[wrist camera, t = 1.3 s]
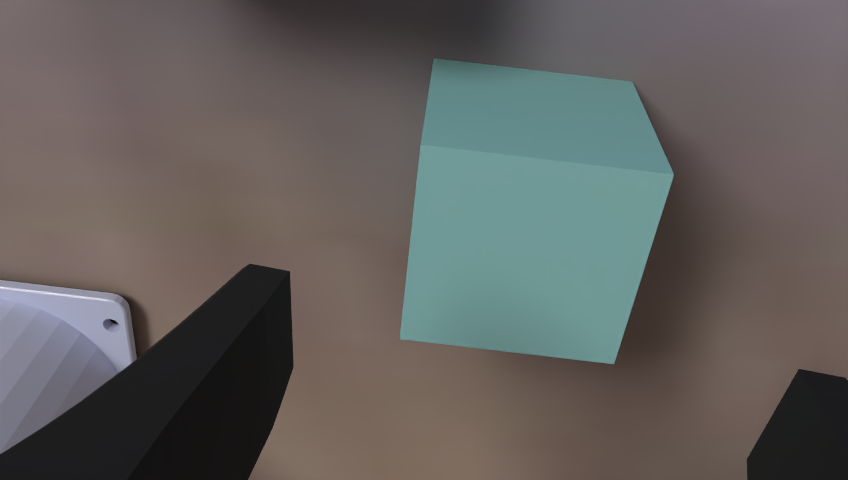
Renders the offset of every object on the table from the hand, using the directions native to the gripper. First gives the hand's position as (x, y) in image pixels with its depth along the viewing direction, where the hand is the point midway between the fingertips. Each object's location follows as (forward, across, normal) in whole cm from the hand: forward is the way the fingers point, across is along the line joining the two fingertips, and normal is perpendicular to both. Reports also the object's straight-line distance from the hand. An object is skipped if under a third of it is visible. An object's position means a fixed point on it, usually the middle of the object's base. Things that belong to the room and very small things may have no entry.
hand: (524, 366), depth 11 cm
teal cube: (+10, +1, +3) cm, 10 cm away
